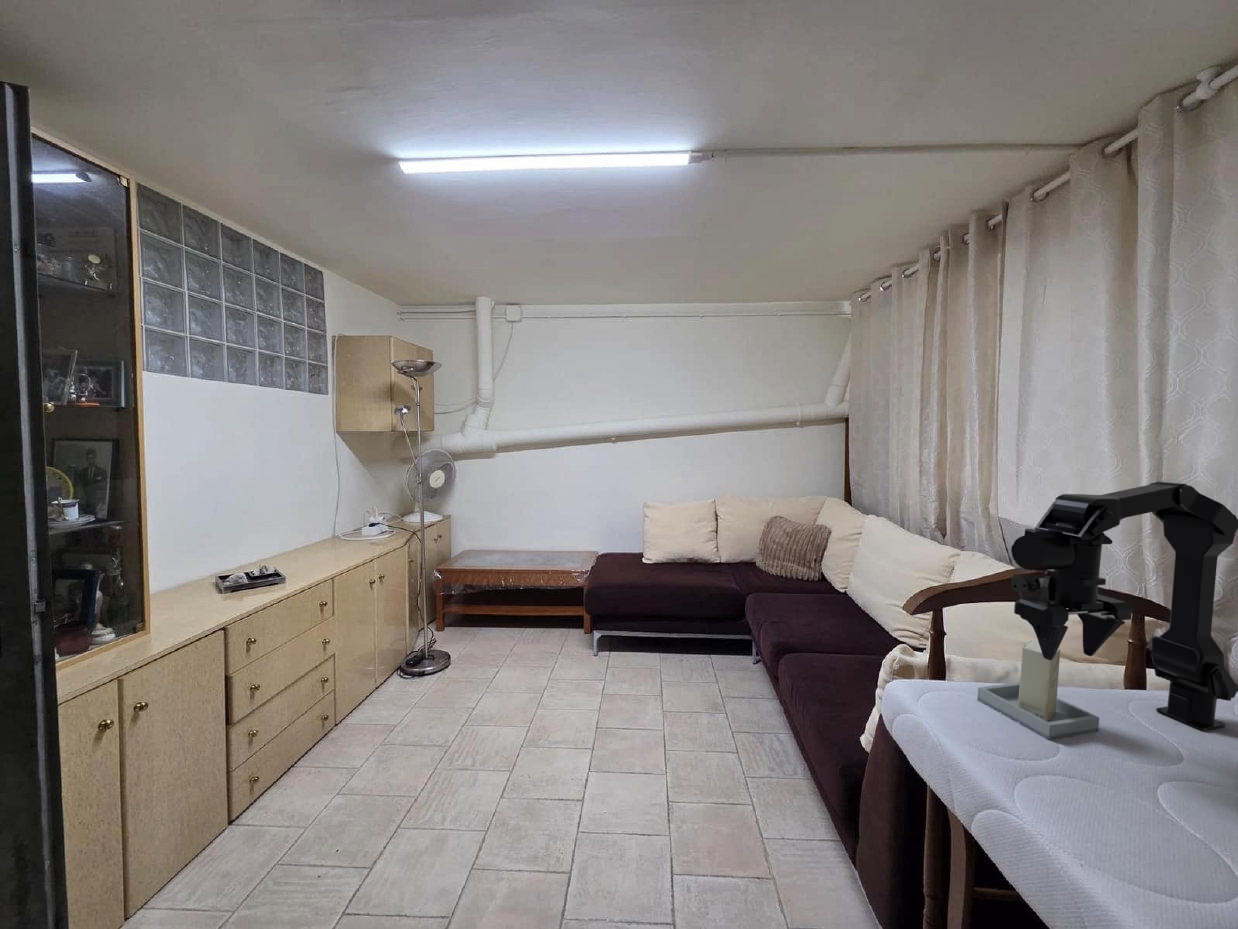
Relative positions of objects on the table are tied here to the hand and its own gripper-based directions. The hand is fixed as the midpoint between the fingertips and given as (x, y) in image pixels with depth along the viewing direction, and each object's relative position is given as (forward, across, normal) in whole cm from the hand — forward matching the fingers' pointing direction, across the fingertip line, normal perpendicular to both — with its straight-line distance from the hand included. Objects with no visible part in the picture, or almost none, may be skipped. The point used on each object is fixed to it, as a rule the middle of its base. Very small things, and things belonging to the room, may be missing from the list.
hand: (1068, 657), depth 86 cm
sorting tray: (+13, 0, -4) cm, 14 cm away
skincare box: (+12, 0, -4) cm, 13 cm away
